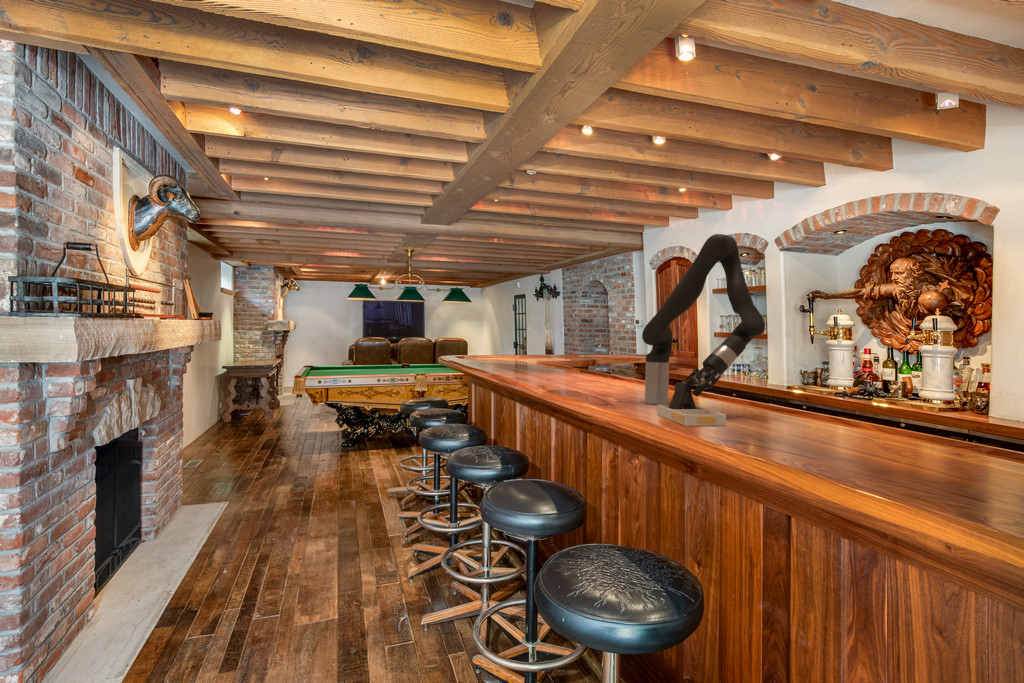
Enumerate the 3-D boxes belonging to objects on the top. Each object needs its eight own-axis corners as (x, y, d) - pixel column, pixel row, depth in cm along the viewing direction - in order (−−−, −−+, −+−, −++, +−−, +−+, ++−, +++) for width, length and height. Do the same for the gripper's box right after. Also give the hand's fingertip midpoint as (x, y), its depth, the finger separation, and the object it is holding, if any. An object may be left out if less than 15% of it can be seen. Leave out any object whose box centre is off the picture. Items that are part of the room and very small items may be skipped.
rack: (656, 414, 174) (656, 404, 174) (692, 414, 176) (692, 404, 176) (685, 426, 153) (685, 415, 153) (726, 426, 155) (726, 415, 155)
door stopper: (689, 415, 173) (690, 382, 173) (698, 418, 167) (699, 384, 167) (666, 416, 172) (667, 382, 171) (674, 419, 166) (675, 384, 165)
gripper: (702, 352, 177) (671, 383, 176) (724, 353, 163) (691, 387, 162) (715, 366, 178) (685, 397, 177) (738, 369, 164) (706, 403, 163)
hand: (688, 393), depth 169 cm, fingers open, 8 cm apart
